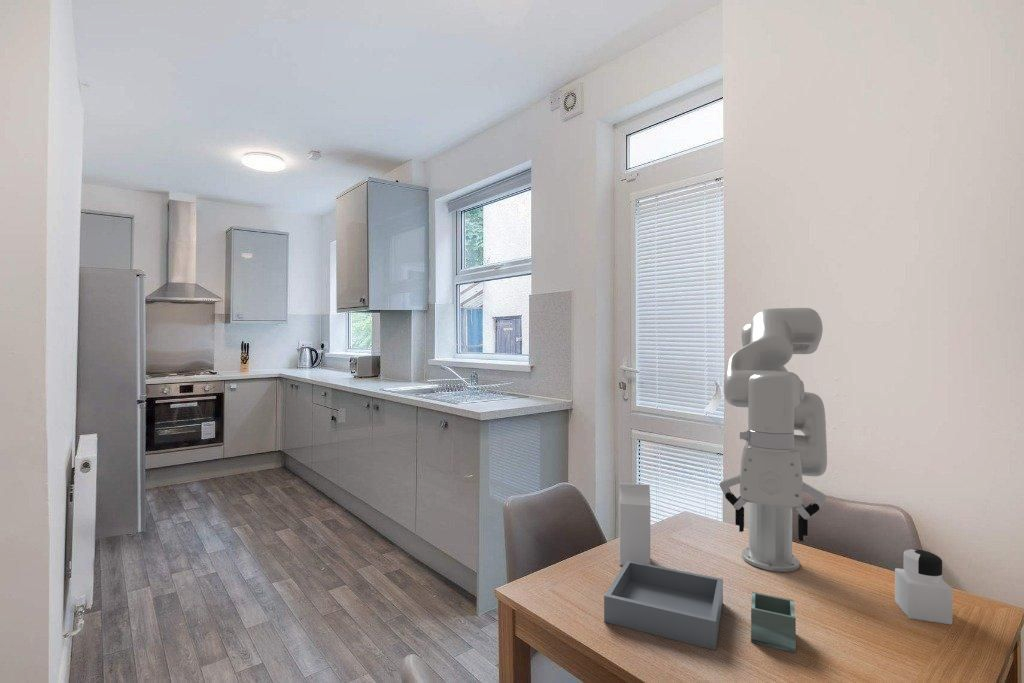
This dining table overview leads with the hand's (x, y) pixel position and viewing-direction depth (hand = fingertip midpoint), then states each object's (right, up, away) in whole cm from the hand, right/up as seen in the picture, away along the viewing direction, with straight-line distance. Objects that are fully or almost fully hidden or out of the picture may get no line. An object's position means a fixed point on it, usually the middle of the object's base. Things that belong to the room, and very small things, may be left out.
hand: (770, 534), depth 93 cm
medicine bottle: (+35, -19, +8) cm, 41 cm away
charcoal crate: (-17, -19, +8) cm, 26 cm away
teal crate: (0, -19, 0) cm, 19 cm away
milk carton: (-17, -19, +32) cm, 41 cm away
